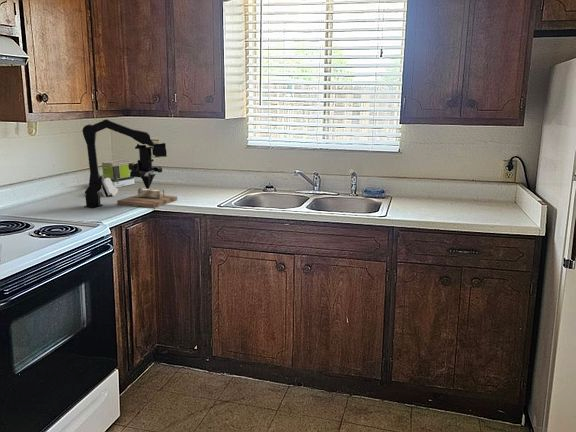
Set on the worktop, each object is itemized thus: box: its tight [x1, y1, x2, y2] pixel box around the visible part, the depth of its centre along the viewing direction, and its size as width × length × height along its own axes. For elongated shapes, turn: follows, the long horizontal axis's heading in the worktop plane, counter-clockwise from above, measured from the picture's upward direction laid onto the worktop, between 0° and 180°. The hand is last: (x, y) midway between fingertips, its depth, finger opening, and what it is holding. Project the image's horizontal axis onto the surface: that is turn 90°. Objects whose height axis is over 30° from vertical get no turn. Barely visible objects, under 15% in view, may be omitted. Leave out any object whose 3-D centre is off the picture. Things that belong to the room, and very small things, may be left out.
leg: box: [137, 187, 164, 198], centre depth 276 cm, size 13×3×4 cm, turn 70°
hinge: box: [100, 178, 119, 198], centre depth 295 cm, size 17×5×10 cm, turn 8°
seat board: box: [116, 188, 178, 209], centre depth 273 cm, size 20×22×6 cm
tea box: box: [101, 158, 135, 188], centre depth 320 cm, size 15×10×15 cm, turn 145°
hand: (147, 188), depth 269 cm, fingers closed
